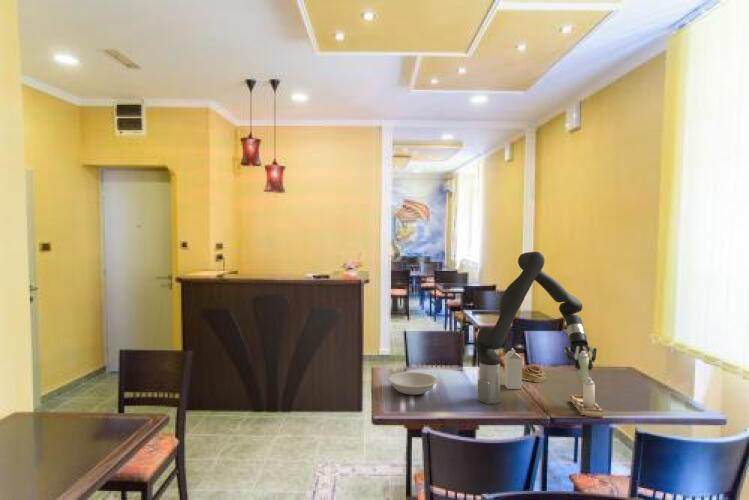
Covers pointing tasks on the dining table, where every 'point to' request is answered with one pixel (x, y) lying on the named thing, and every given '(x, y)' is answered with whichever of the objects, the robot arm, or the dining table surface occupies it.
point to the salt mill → (589, 394)
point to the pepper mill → (583, 366)
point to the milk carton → (513, 370)
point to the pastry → (533, 373)
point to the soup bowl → (412, 382)
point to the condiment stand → (578, 403)
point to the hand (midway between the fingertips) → (584, 368)
